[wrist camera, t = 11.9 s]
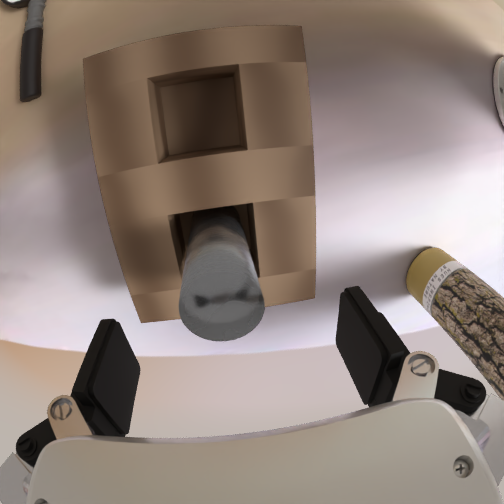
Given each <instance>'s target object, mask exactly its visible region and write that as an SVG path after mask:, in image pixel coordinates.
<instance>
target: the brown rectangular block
mask: <svg viewBox="0 0 504 504" xmlns="http://www.w3.org/2000/svg"><path fill="white" fill-rule="evenodd" d="M83 68H84V84H85V96H86V106H87V114H88V122H89V130H90V137H91V143H92V149H93V155H94V161H95V166H96V171H97V176H98V181H99V186H100V190H101V195H102V199H103V203H104V208H105V212H106V216H107V220H108V223H109V227H110V231H111V235H112V238H113V242H114V245H115V249H116V252H117V255H118V258H119V262H120V265H121V268H122V271H123V274H124V277H125V280H126V283H127V286H128V289H129V292H130V295H131V297H132V300H133V303H134V306H135V308H136V311H137V314H138V316H139V319H140V321H141V323H147V322H157V321H166V320H175V319H181V317H180V315H179V307H178V306H179V298H180V291H181V284H182V277H183V271H184V265H185V258H186V252H187V247H188V241H189V235H190V229H191V224H192V219H193V215H194V213H195V211H197V210H203V209H210V208H217V207H224V206H231V205H233V206H234V207H235V208H236V210H237V212H238V214H239V217H240V220H241V223H242V227H243V230H244V234H245V237H246V240H247V244H248V247H249V250H250V254H251V257H252V261H253V264H254V267H255V271H256V274H257V277H258V281H259V284H260V287H261V291H262V294H263V298H264V302H265V307H268V306H274V305H280V304H286V303H291V302H297V301H303V300H308V299H313V298H315V281H316V205H315V173H314V152H313V135H312V120H311V107H310V96H309V85H308V75H307V66H306V57H305V49H304V41H303V33H302V26H287V25H256V26H235V27H222V28H212V29H204V30H196V31H189V32H183V33H177V34H172V35H166V36H161V37H157V38H152V39H148V40H144V41H140V42H136V43H132V44H128V45H124V46H121V47H118V48H114V49H111V50H108V51H105V52H102V53H99V54H96V55H93V56H90V57H87V58H85V59H83Z"/></svg>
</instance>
